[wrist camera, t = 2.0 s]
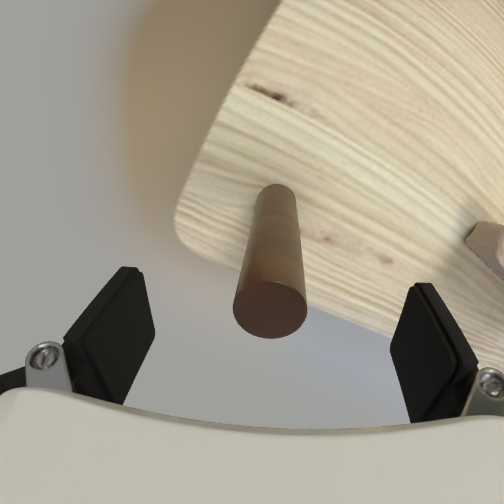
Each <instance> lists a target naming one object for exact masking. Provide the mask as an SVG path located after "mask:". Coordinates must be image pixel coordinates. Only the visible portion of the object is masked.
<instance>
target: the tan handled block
mask: <svg viewBox="0 0 504 504" xmlns="http://www.w3.org/2000/svg"><path fill="white" fill-rule="evenodd" d="M465 243H466V245H467V246H468V248H470V249H471V250H472V251H474V252H475V253H476V254H477V255H478V256H479V257H480V258H482V259H483V261H484V262H485V263H486V265H488V266H489V267H490V268H491V269H492V270H493V272H494V273H495V274H497V275H498V276H499V277H500V278H501V279H502V280H503V281H504V225H501V224H496V223H492V222H486V221H480V222H479V223H477V225H476V226H475V229H474V230H473V232H472V233H471V234H470V235H469V236H468V237H467V238H466V239H465Z"/></svg>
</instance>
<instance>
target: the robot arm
mask: <svg viewBox="0 0 504 504" xmlns="http://www.w3.org/2000/svg"><path fill="white" fill-rule="evenodd" d="M154 337H155V328H154V324H153V319H152V315H151V310H150V305H149V301H148V296H147V291H146V286H145V281H144V276H143V273H142V272H139V270H138V268H136V267H121V268H120V269H119V270H118V271H117V272H116V273H115V274H114V276H113V277H112V278H111V279H110V280H109V281H108V283H107V284H106V285H105V286H104V287H103V288H102V290H101V291H100V292H99V293H98V294H97V296H96V297H95V298H94V300H92V302H91V303H90V304H89V305H88V307H87V308H86V309H85V310H84V312H83V313H82V314H81V315H80V317H79V318H78V319H77V320H76V322H75V323H74V324H73V325H72V327H71V328H70V329H69V330H68V332H67V333H66V334H65V336H64V337H63V339H64V343H63V344H62V345H60V344H59V343H56V342H51V341H48V342H43V343H40V344H38V345H36V346H35V347H33V348H32V349H31V350H30V351H29V353H28V354H27V356H26V360H25V366H24V367H21V368H19V369H16V370H13V371H10V372H8V373H5V374H2V375H0V504H504V374H503V373H502V372H501V371H499V370H497V369H495V368H490V367H486V368H482V369H481V370H479V369H478V367H477V364H478V363H479V362H478V360H477V358H476V356H475V354H474V352H473V350H472V349H471V347H470V345H469V343H468V341H467V340H466V338H465V336H464V335H463V333H462V331H461V329H460V328H459V326H458V324H457V323H456V321H455V319H454V318H453V316H452V314H451V313H450V311H449V310H448V308H447V306H446V305H445V303H444V302H443V300H442V298H441V297H440V295H439V294H438V292H437V291H436V289H435V288H434V286H433V285H432V284H431V283H415V284H414V286H412V287H410V288H409V291H408V294H407V298H406V301H405V304H404V307H403V310H402V313H401V316H400V319H399V322H398V325H397V328H396V330H395V333H394V336H393V339H392V342H391V345H390V353H391V356H392V360H393V363H394V366H395V369H396V372H397V376H398V379H399V382H400V386H401V390H402V393H403V397H404V400H405V403H406V407H407V411H408V415H409V419H410V422H411V424H401V425H392V426H382V427H368V428H349V429H286V428H266V427H253V426H241V425H231V424H222V423H215V422H207V421H200V420H193V419H187V418H181V417H175V416H170V415H164V414H159V413H154V412H150V411H145V410H141V409H136V408H132V407H127V406H123V403H124V401H125V399H126V396H127V394H128V392H129V390H130V388H131V386H132V384H133V381H134V379H135V377H136V375H137V373H138V371H139V369H140V367H141V365H142V363H143V361H144V359H145V356H146V354H147V352H148V350H149V348H150V346H151V344H152V342H153V340H154Z"/></svg>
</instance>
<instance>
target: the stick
mask: <svg viewBox="0 0 504 504" xmlns="http://www.w3.org/2000/svg"><path fill="white" fill-rule="evenodd" d="M233 314H234V317H235V319H236V321H237V322H238V324H239V325H240V326H241V327H242V328H243V329H244V330H245V331H247V332H248V333H250V334H252V335H254V336H257V337H261V338H268V339H273V338H281V337H285V336H288V335H290V334H292V333H293V332H295V331H296V330H298V328H300V327H301V325H302V324H303V322H304V321H305V318H306V315H307V300H306V289H305V278H304V268H303V259H302V249H301V240H300V232H299V223H298V215H297V207H296V199H295V196H294V194H293V192H292V191H291V190H290V189H289V188H287V187H286V186H283V185H279V184H274V185H270V186H268V187H266V188H265V189H263V190H262V192H261V193H260V195H259V198H258V202H257V206H256V210H255V214H254V218H253V223H252V227H251V231H250V235H249V239H248V243H247V248H246V252H245V256H244V260H243V264H242V269H241V273H240V277H239V281H238V286H237V290H236V294H235V298H234V303H233Z"/></svg>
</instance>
